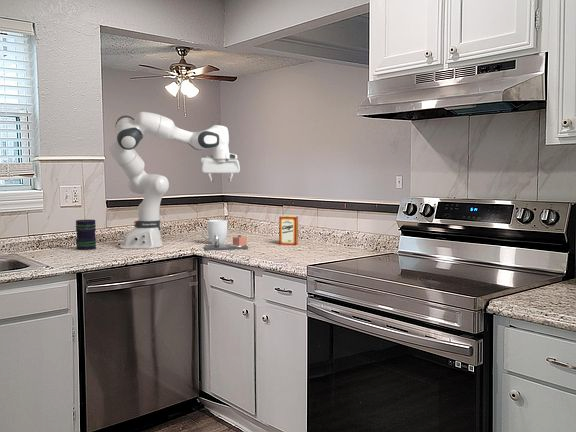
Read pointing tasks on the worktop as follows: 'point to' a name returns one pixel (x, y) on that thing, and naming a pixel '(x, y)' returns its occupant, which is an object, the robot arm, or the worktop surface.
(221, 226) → the mug
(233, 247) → the base
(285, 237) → the baking soda box
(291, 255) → the worktop surface
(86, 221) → the storage jar
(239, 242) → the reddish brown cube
